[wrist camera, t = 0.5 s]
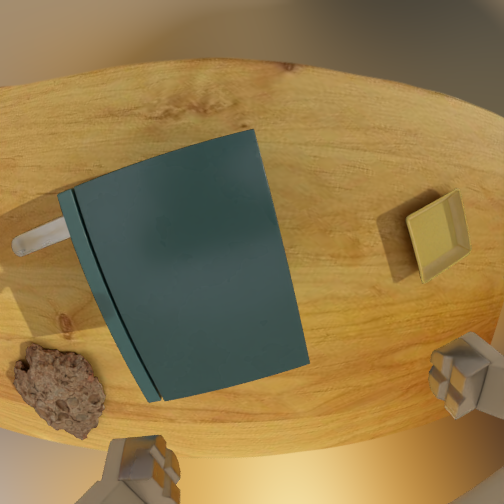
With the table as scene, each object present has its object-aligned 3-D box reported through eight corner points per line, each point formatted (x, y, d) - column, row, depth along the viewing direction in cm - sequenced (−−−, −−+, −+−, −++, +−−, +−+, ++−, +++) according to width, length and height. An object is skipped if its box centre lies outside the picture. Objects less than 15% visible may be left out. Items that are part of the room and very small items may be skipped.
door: (118, 328, 32) (82, 412, 19) (68, 198, 28) (-10, 226, 15) (175, 314, 32) (161, 400, 20) (128, 175, 28) (70, 188, 15)
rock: (89, 433, 36) (83, 452, 33) (11, 384, 33) (0, 400, 29) (128, 378, 34) (121, 399, 30) (34, 315, 30) (19, 332, 27)
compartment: (178, 313, 32) (164, 401, 19) (130, 174, 28) (73, 187, 15) (272, 286, 33) (310, 363, 20) (234, 142, 29) (253, 128, 16)
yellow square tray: (395, 213, 32) (405, 217, 30) (448, 184, 32) (460, 186, 30) (412, 279, 35) (422, 285, 33) (462, 247, 35) (472, 252, 33)
